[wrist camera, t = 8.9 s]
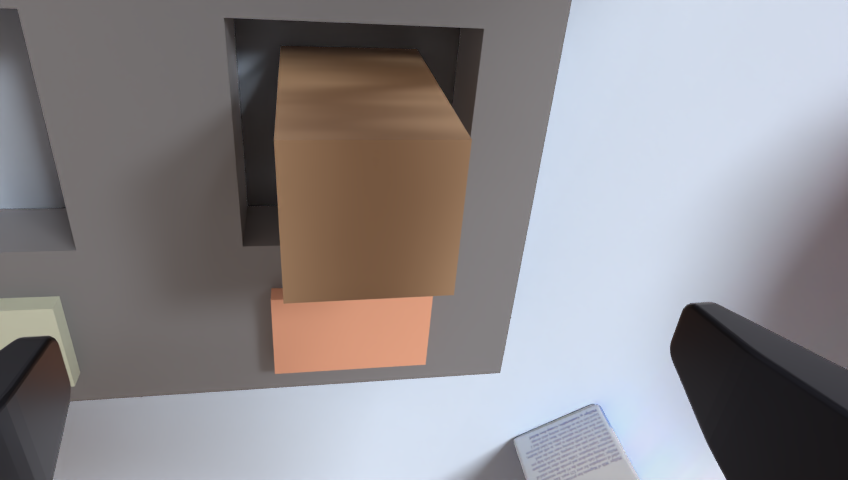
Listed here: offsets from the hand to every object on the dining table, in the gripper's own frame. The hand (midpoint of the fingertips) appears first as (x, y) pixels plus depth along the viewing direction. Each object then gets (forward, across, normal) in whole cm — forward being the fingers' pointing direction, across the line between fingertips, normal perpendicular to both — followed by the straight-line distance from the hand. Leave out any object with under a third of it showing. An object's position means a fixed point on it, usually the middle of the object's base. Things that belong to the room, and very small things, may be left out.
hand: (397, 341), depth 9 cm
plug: (+12, 0, +1) cm, 12 cm away
